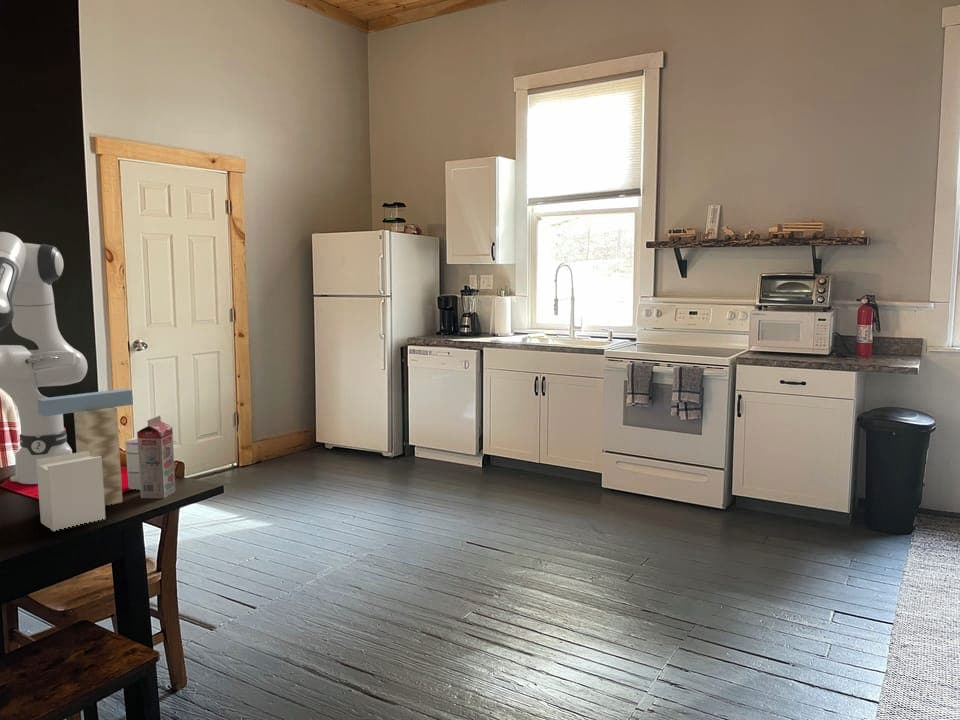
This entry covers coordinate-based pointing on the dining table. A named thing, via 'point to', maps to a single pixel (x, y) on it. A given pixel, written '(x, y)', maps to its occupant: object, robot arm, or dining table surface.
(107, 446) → the post
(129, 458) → the syrup box
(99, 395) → the bar
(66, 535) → the dining table surface
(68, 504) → the cream block
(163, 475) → the juice carton
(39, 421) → the robot arm
